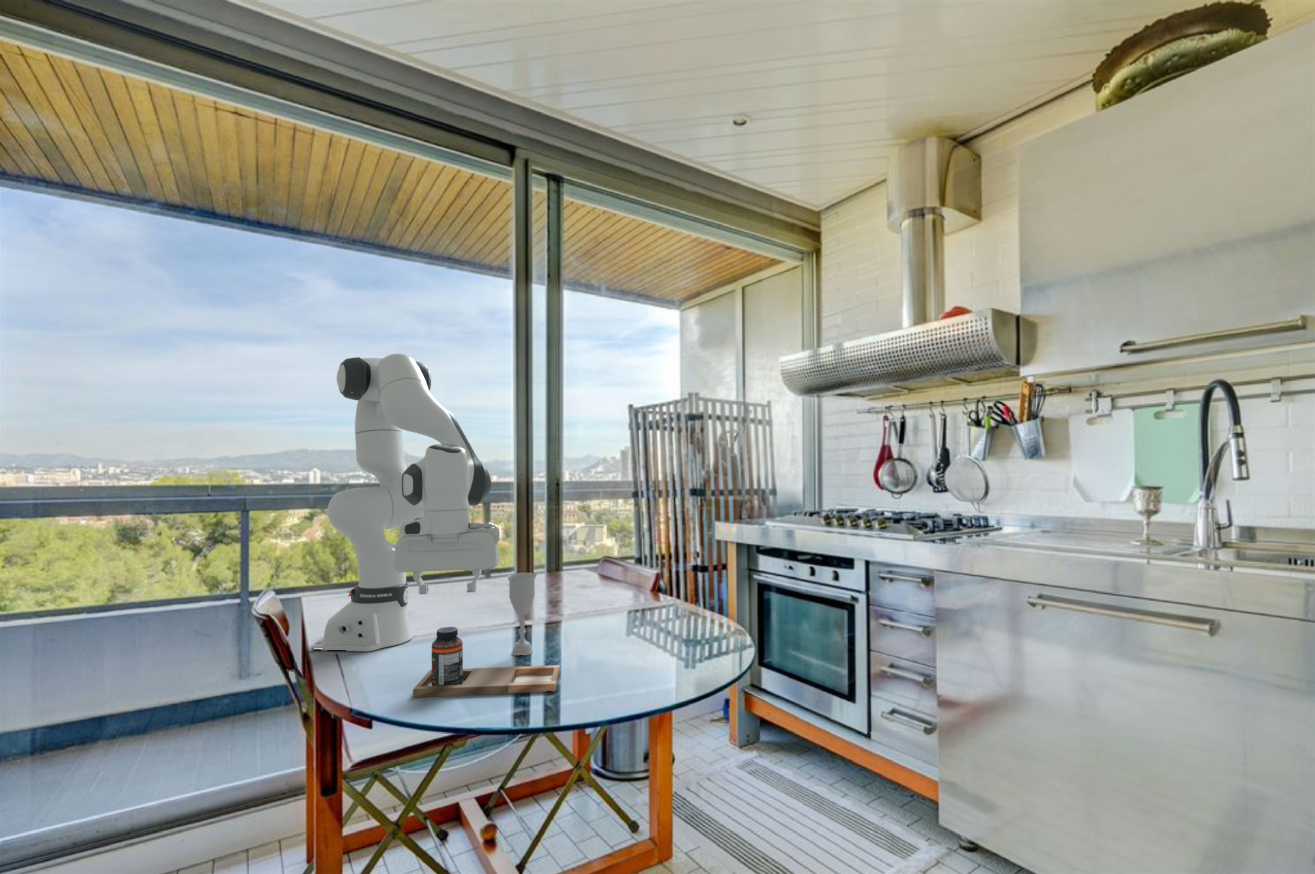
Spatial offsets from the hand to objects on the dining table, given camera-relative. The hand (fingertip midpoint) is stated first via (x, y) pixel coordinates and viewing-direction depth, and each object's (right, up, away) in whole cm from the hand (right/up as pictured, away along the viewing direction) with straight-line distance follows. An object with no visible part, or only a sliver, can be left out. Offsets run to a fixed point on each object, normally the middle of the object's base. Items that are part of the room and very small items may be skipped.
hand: (447, 592), depth 124 cm
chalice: (+10, -20, +21) cm, 30 cm away
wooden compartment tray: (+9, -19, 0) cm, 20 cm away
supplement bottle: (0, -19, -1) cm, 19 cm away
